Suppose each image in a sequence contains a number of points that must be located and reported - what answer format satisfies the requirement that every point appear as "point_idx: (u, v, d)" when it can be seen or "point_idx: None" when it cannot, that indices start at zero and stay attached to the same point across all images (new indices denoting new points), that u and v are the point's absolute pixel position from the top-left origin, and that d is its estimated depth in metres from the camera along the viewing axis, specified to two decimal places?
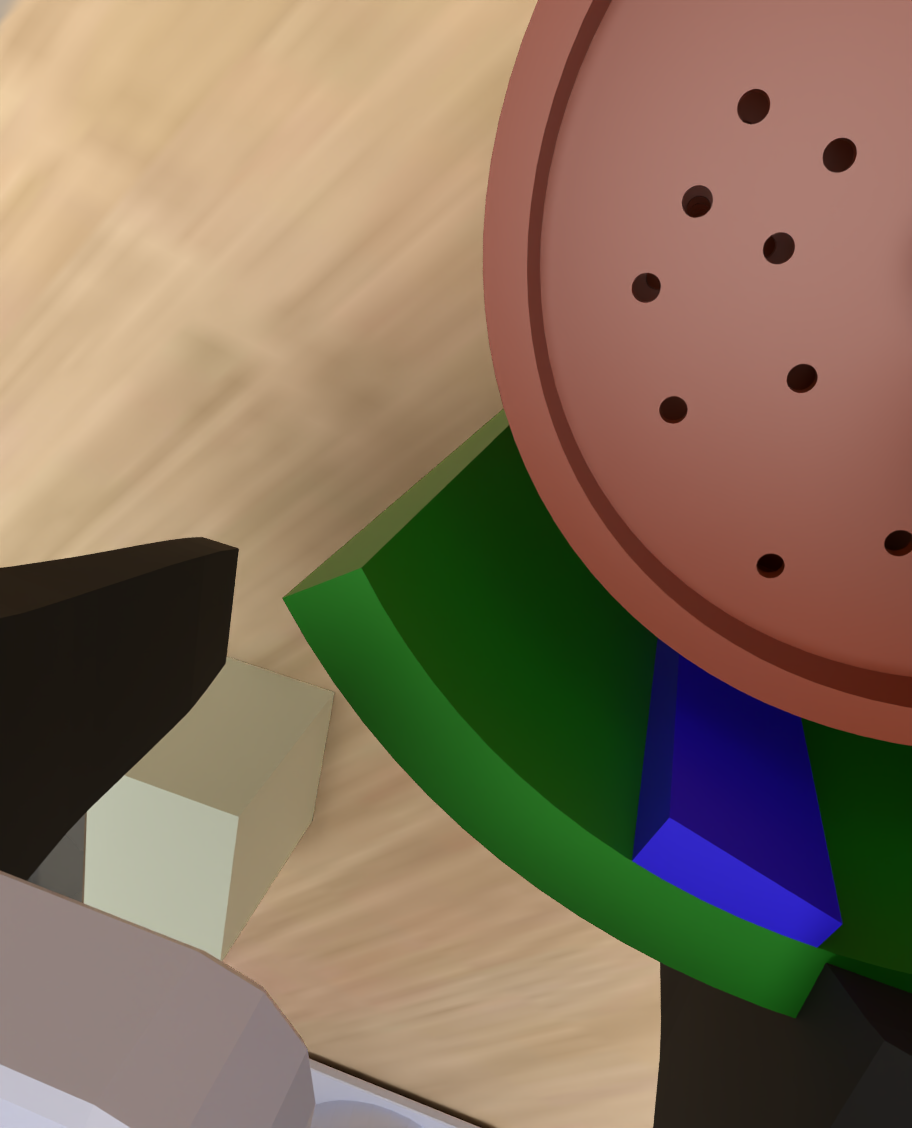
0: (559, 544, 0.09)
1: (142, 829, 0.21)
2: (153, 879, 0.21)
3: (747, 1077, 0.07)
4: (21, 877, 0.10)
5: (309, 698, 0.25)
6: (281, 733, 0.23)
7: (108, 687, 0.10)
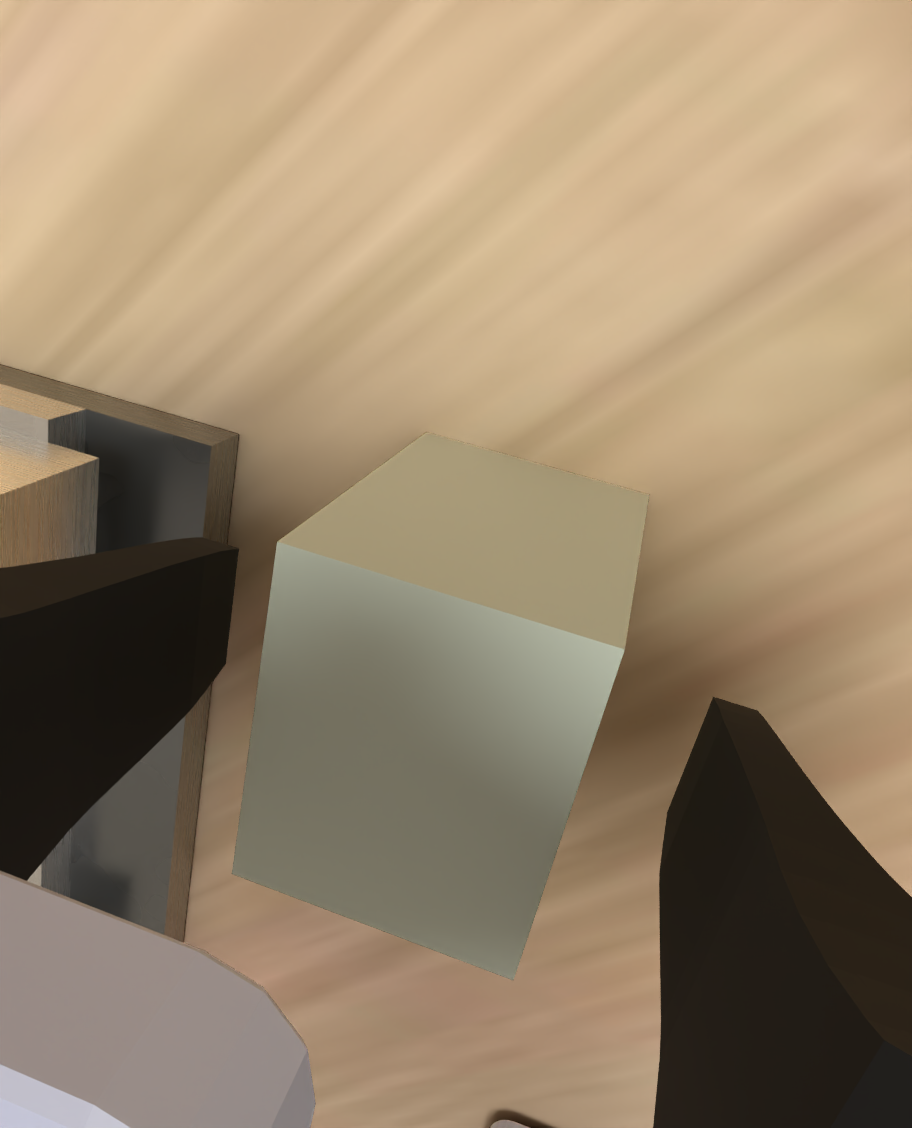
0: None
1: (382, 691, 0.10)
2: (392, 801, 0.10)
3: (747, 1077, 0.07)
4: (21, 877, 0.10)
5: (616, 497, 0.14)
6: (607, 535, 0.12)
7: (108, 687, 0.10)
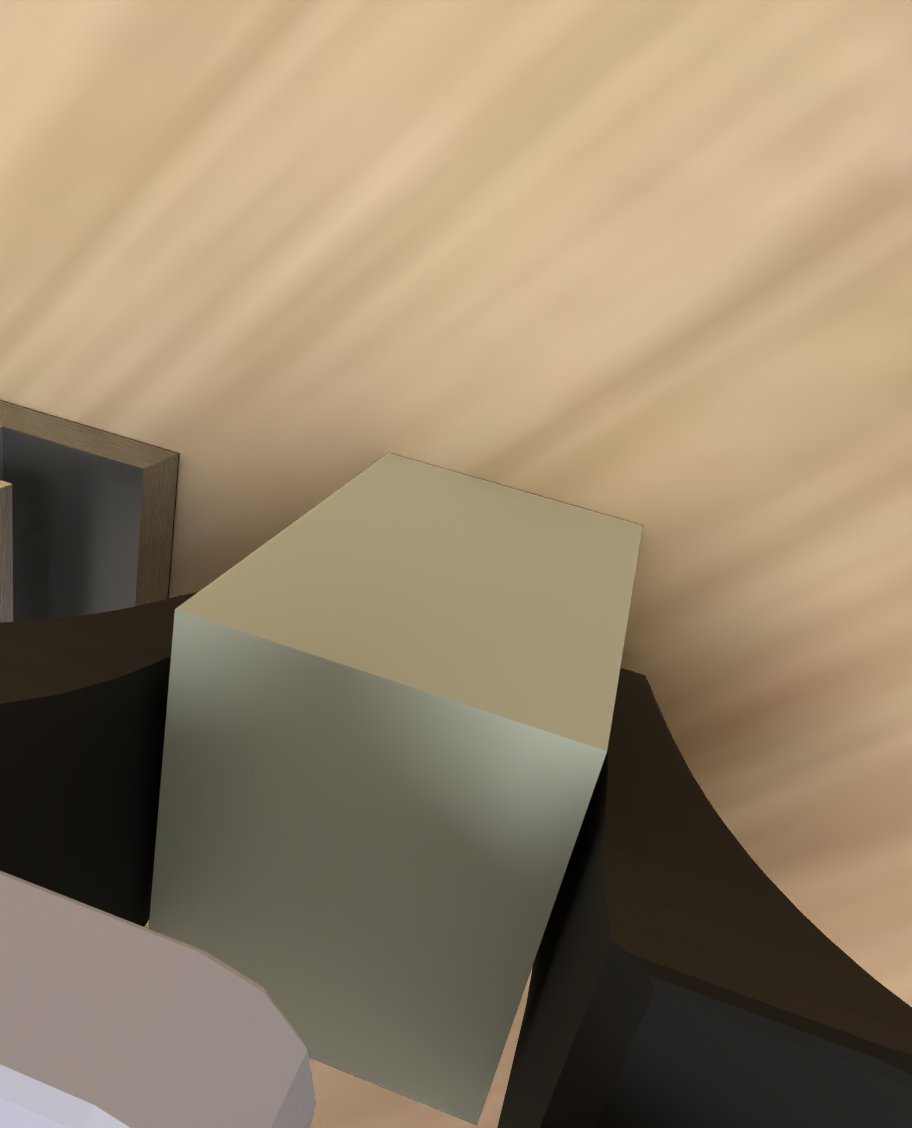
0: None
1: (309, 790, 0.08)
2: (327, 918, 0.09)
3: (555, 1005, 0.07)
4: (140, 923, 0.09)
5: (604, 531, 0.12)
6: (590, 583, 0.10)
7: None
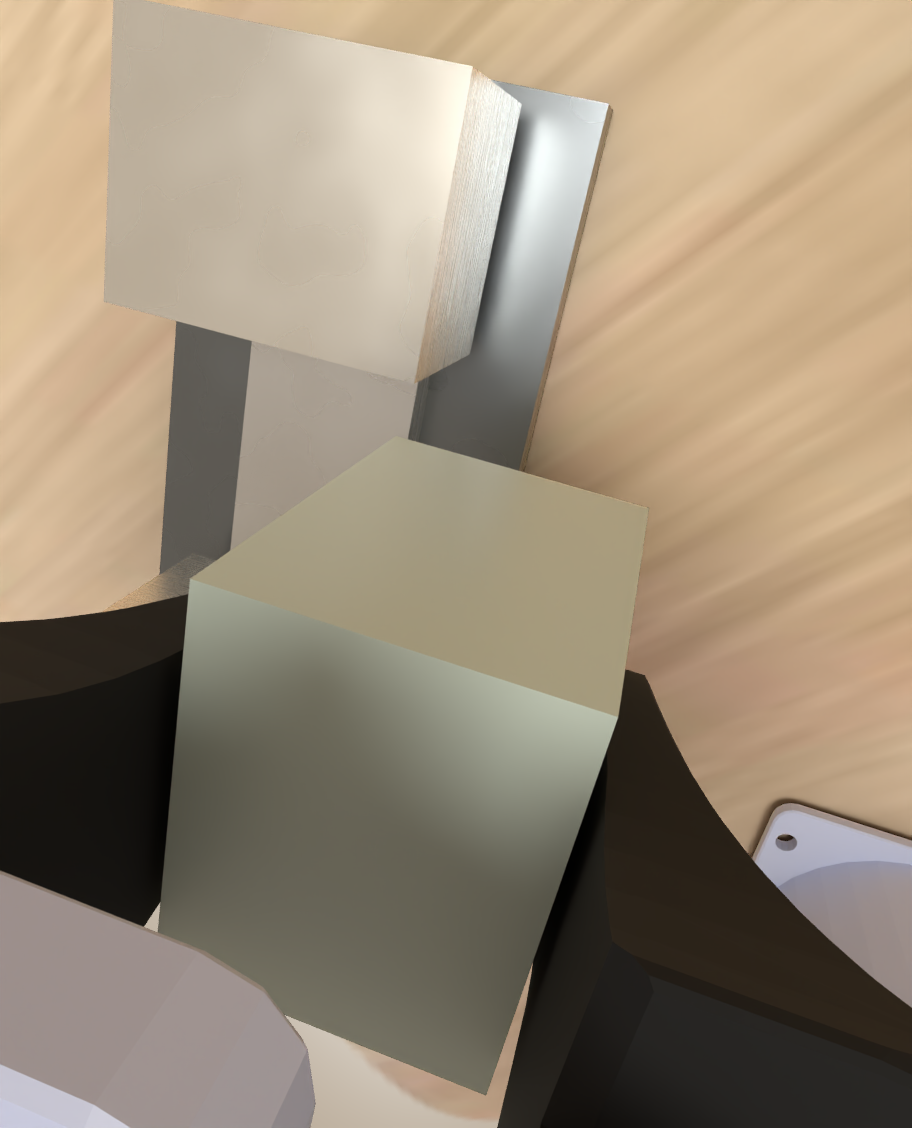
0: None
1: (322, 761, 0.08)
2: (338, 888, 0.09)
3: (555, 1005, 0.07)
4: (139, 923, 0.09)
5: (611, 512, 0.12)
6: (598, 561, 0.10)
7: None
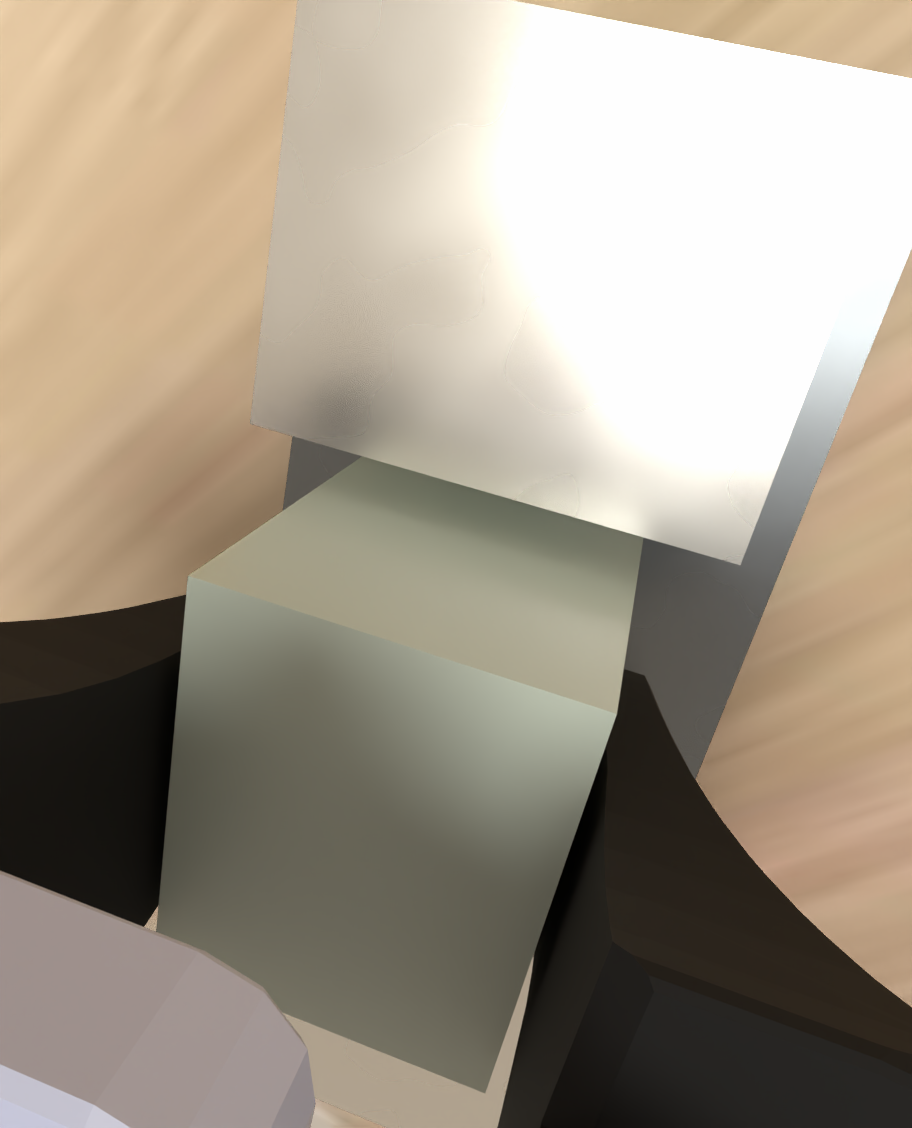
0: None
1: (321, 757, 0.08)
2: (336, 885, 0.09)
3: (555, 1004, 0.07)
4: (140, 923, 0.09)
5: None
6: (598, 559, 0.10)
7: None
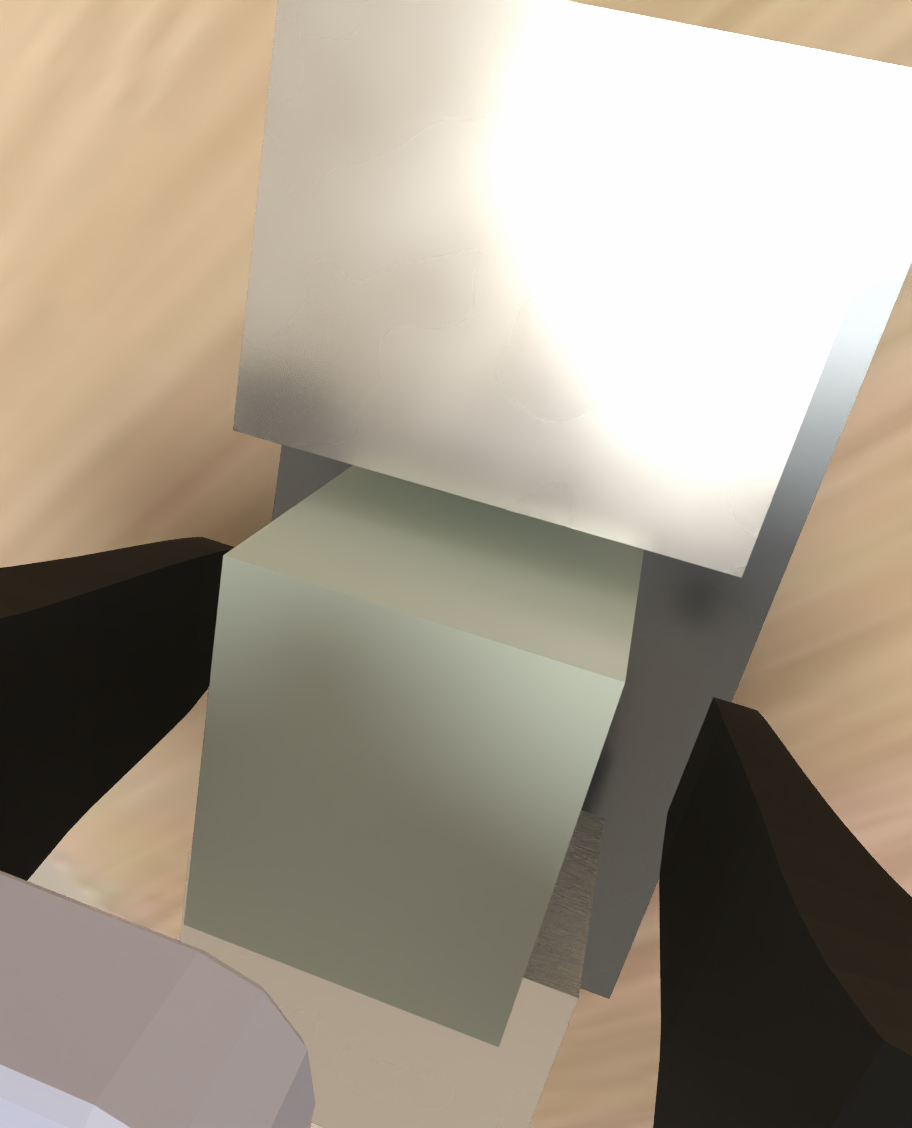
0: None
1: (347, 726, 0.09)
2: (360, 849, 0.09)
3: (747, 1077, 0.07)
4: (21, 877, 0.10)
5: None
6: (605, 543, 0.11)
7: (108, 687, 0.10)
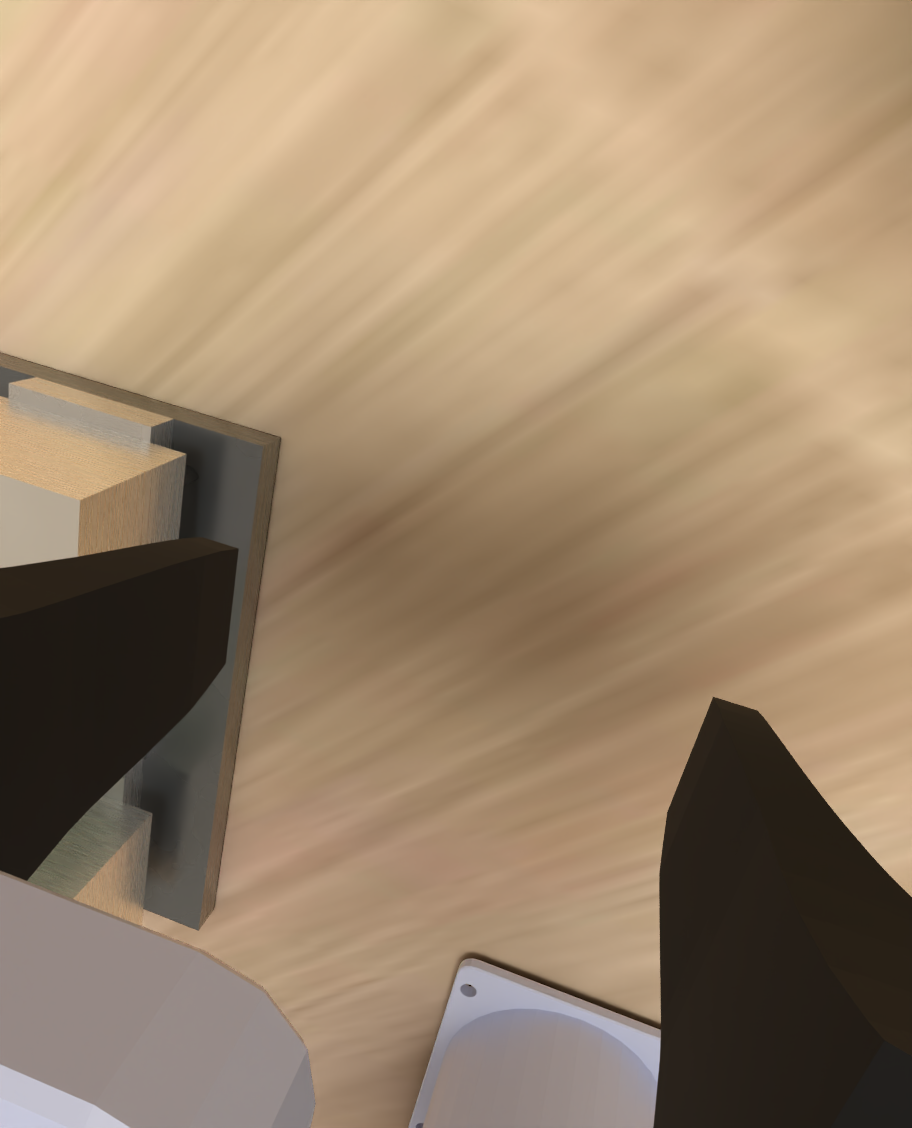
0: None
1: None
2: None
3: (747, 1077, 0.07)
4: (21, 877, 0.10)
5: None
6: None
7: (108, 687, 0.10)
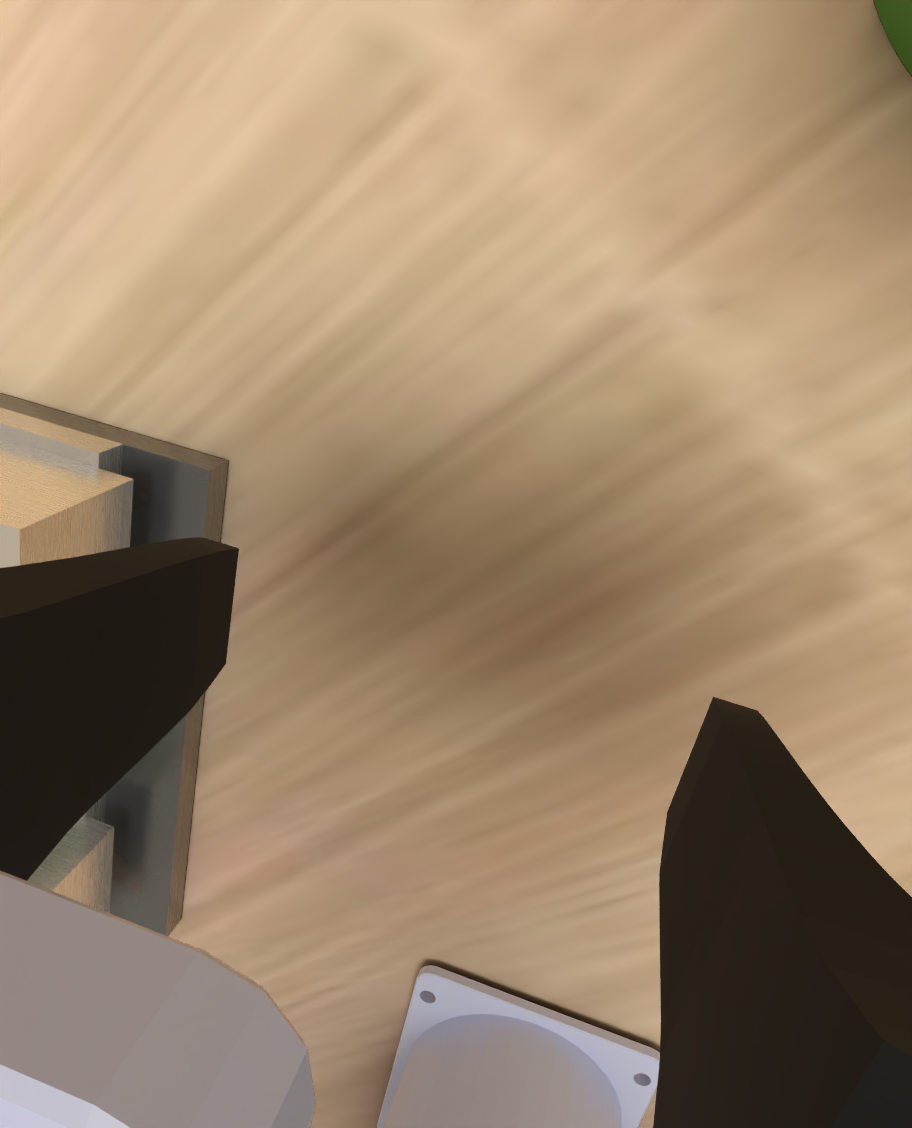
0: None
1: None
2: None
3: (747, 1077, 0.07)
4: (21, 877, 0.10)
5: None
6: None
7: (108, 687, 0.10)
